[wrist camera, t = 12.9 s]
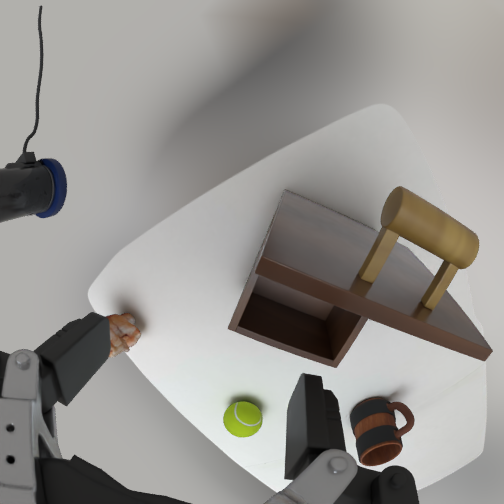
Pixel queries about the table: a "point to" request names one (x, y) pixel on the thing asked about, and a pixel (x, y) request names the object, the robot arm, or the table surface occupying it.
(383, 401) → the mug
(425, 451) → the table surface
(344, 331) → the chest
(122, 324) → the figurine
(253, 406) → the tennis ball
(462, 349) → the lid
